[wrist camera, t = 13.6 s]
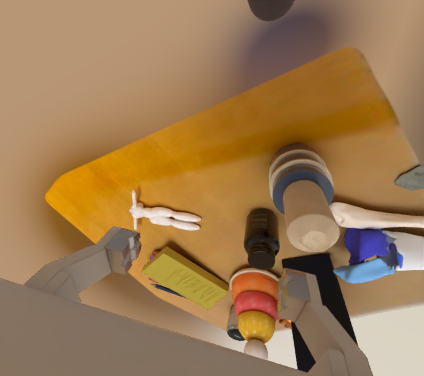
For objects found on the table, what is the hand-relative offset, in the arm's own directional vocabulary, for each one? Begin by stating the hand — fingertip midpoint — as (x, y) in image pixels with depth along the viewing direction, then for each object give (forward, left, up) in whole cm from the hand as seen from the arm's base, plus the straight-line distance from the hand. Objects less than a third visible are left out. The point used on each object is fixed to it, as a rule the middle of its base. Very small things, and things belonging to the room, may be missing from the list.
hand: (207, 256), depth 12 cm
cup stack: (+6, +10, -32) cm, 34 cm away
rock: (+1, +29, -31) cm, 43 cm away
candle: (+6, +10, -21) cm, 24 cm away
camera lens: (+55, +8, -32) cm, 65 cm away
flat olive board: (+38, -18, -28) cm, 51 cm away
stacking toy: (+41, +10, -32) cm, 53 cm away
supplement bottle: (+20, +7, -32) cm, 39 cm away
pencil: (+56, -7, -32) cm, 65 cm away
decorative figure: (+25, -16, -32) cm, 44 cm away
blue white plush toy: (+16, +31, -32) cm, 48 cm away
